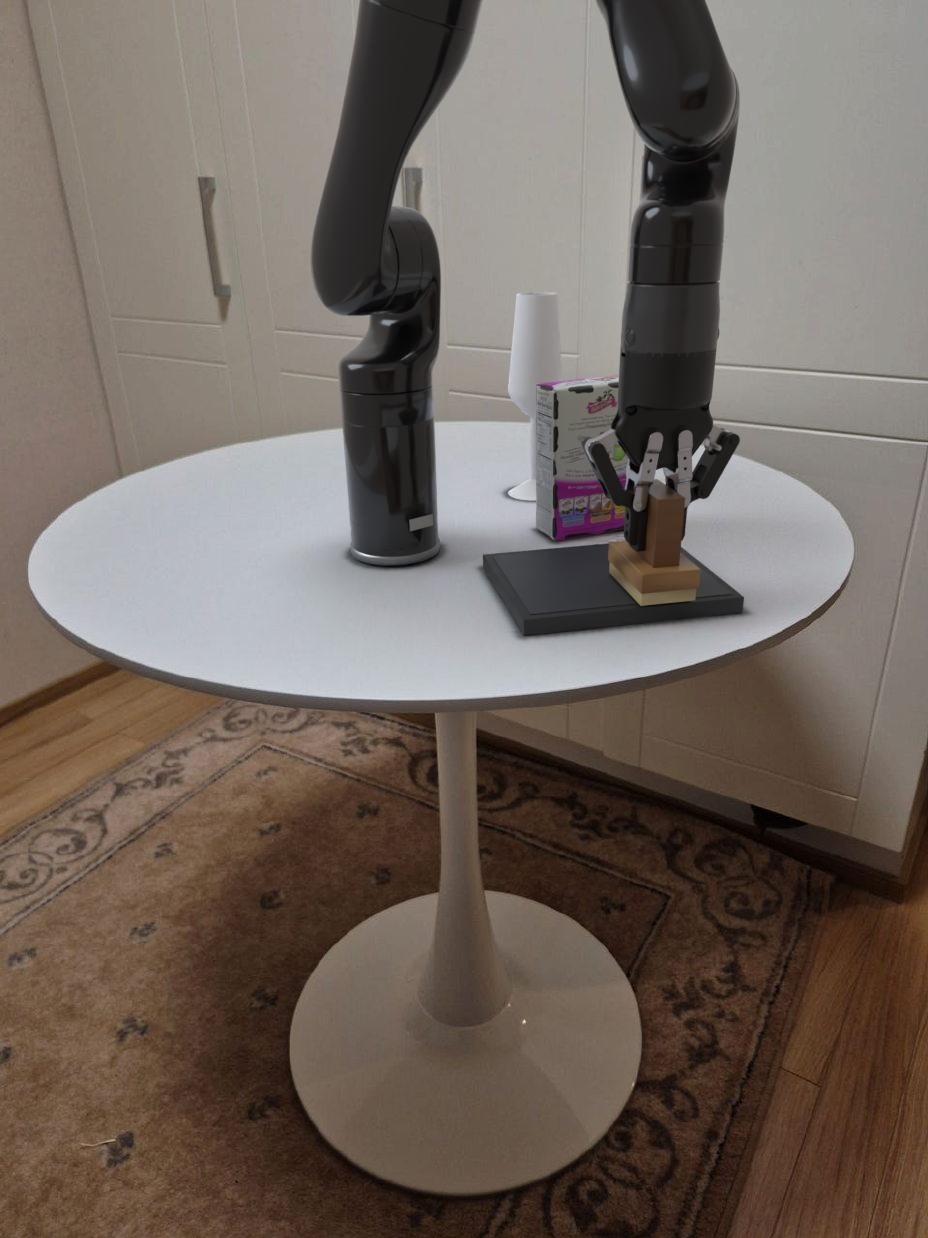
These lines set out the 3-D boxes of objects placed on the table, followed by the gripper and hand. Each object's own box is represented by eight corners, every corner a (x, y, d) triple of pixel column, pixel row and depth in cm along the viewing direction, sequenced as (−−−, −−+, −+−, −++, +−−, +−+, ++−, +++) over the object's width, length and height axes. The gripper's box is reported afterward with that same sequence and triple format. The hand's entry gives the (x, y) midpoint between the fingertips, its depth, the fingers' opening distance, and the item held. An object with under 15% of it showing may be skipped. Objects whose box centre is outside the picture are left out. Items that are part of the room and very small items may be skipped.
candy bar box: (617, 515, 101) (626, 372, 94) (641, 528, 97) (651, 379, 90) (532, 529, 97) (534, 380, 90) (552, 542, 93) (556, 388, 86)
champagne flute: (504, 486, 113) (504, 292, 103) (554, 484, 113) (559, 290, 103) (512, 501, 107) (512, 296, 97) (565, 499, 107) (571, 294, 97)
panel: (482, 568, 87) (482, 553, 86) (668, 551, 90) (670, 536, 89) (523, 635, 72) (523, 619, 72) (742, 612, 76) (744, 596, 75)
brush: (607, 571, 81) (611, 478, 77) (659, 567, 81) (666, 474, 78) (640, 607, 73) (647, 505, 69) (697, 601, 74) (707, 500, 70)
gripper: (728, 333, 73) (708, 527, 80) (570, 340, 71) (564, 539, 78) (773, 344, 66) (746, 554, 73) (600, 353, 64) (591, 569, 71)
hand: (653, 546), depth 76 cm, fingers closed on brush, 2 cm apart
